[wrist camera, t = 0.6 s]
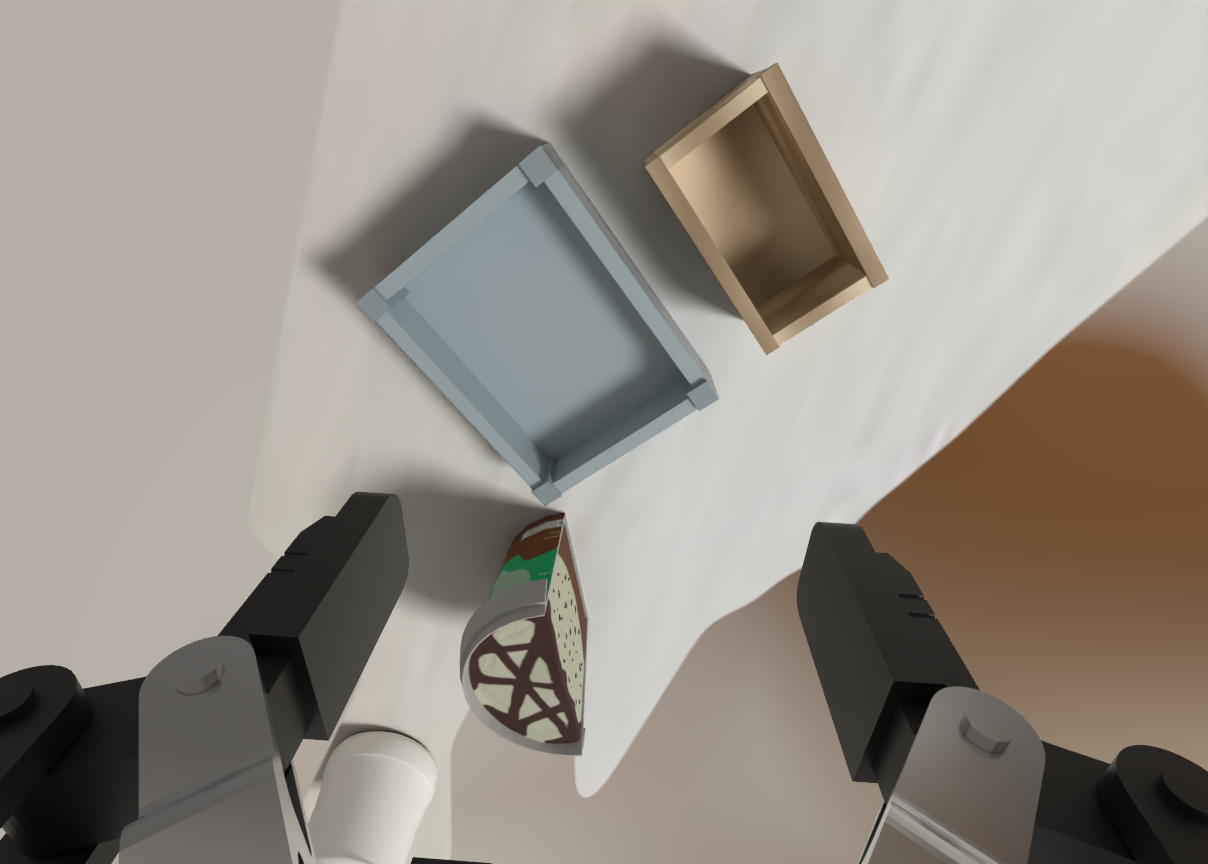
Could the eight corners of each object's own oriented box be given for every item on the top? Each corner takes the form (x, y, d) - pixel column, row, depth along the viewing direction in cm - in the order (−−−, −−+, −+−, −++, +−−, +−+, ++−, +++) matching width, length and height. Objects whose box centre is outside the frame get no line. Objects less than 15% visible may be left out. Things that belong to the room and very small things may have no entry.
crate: (549, 142, 28) (539, 145, 25) (709, 371, 34) (719, 398, 30) (383, 284, 32) (355, 303, 29) (551, 471, 37) (544, 506, 34)
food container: (468, 504, 39) (422, 618, 30) (561, 493, 38) (542, 606, 29) (510, 638, 44) (482, 768, 35) (591, 631, 44) (583, 761, 35)
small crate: (751, 72, 27) (777, 62, 22) (849, 255, 31) (888, 278, 26) (641, 159, 29) (645, 166, 24) (746, 322, 32) (766, 355, 28)
